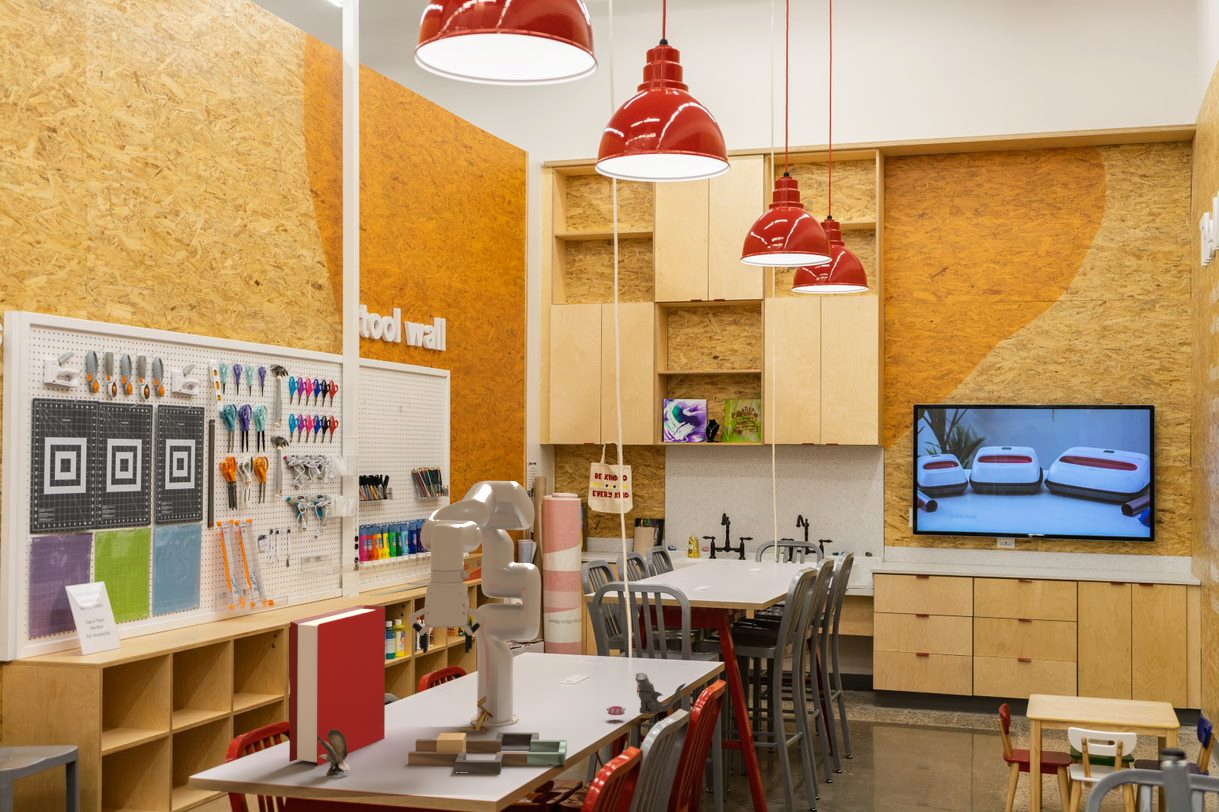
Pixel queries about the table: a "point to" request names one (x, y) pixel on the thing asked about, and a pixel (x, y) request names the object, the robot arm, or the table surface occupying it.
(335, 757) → the eagle figurine
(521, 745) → the trap channel
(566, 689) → the table surface
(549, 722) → the table surface
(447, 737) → the ochre block
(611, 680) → the table surface
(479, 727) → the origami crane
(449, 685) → the table surface
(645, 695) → the grey and pink pieces
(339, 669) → the book
